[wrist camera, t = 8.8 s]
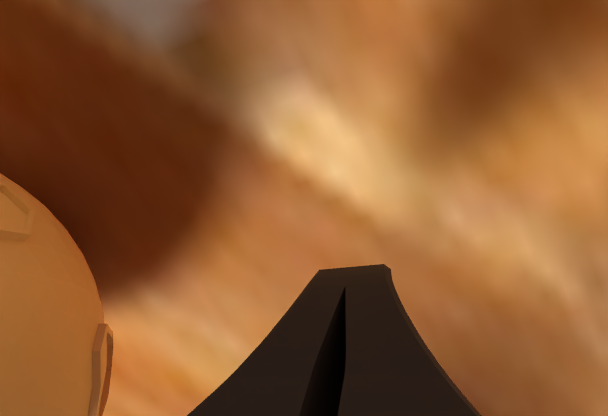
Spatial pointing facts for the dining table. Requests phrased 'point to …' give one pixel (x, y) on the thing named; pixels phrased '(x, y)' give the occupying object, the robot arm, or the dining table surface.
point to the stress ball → (48, 316)
